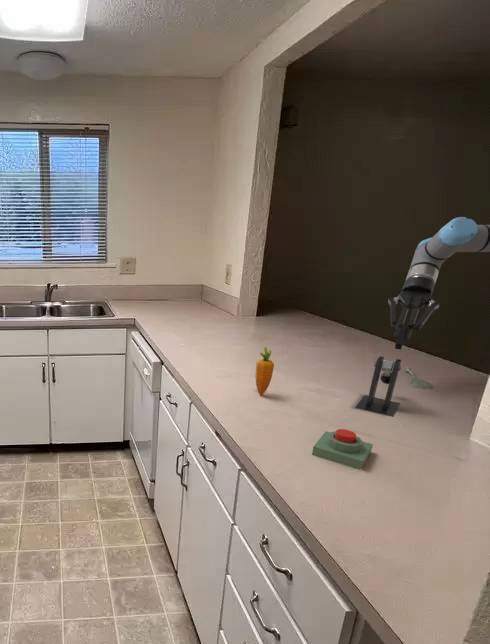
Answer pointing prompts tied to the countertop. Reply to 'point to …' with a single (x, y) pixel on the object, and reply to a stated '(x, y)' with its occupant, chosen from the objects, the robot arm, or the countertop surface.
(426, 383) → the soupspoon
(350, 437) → the button
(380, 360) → the twin-post stand
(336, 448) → the button box
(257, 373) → the carrot
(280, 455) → the countertop surface
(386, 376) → the grey swinging pendulum
